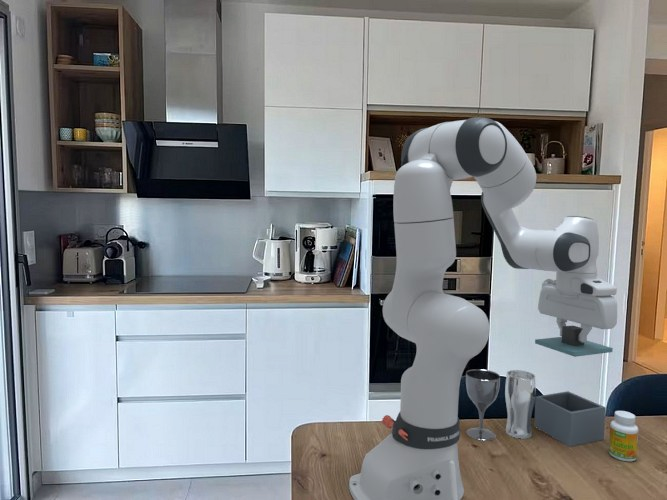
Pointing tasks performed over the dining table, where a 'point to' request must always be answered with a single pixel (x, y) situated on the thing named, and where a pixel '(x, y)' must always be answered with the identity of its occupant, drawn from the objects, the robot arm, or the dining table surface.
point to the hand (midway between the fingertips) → (572, 339)
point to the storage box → (570, 418)
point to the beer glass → (519, 402)
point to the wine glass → (482, 398)
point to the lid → (572, 343)
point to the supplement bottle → (623, 436)
